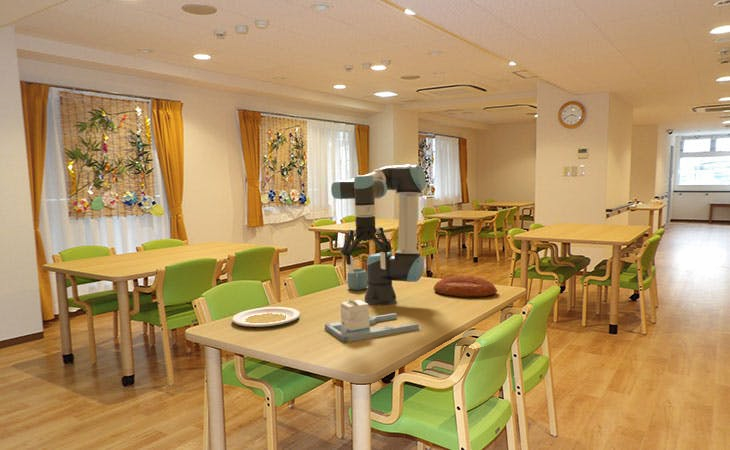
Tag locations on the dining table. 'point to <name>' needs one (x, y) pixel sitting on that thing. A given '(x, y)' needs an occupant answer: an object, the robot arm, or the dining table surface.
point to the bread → (465, 286)
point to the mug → (358, 279)
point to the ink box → (354, 316)
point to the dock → (369, 333)
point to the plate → (289, 312)
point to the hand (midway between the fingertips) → (367, 270)
